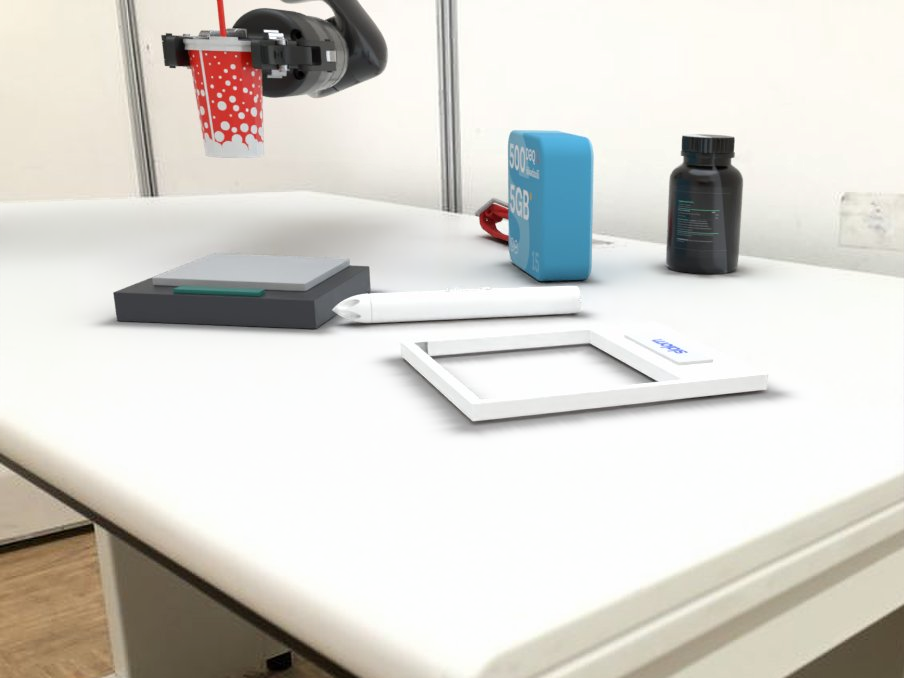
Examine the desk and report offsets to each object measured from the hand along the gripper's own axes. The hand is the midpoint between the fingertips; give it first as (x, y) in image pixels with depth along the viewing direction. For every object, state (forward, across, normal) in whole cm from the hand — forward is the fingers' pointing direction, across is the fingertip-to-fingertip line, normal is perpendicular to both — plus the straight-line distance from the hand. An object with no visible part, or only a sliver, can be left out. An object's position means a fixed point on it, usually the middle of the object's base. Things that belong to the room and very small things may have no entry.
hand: (213, 52), depth 87 cm
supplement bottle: (-13, +40, +18) cm, 45 cm away
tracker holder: (-26, +22, +18) cm, 38 cm away
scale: (+11, +6, +18) cm, 21 cm away
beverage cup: (-2, 0, +8) cm, 9 cm away
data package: (-8, +26, +18) cm, 32 cm away
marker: (+13, +22, +18) cm, 31 cm away
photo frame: (+27, +31, +17) cm, 45 cm away
